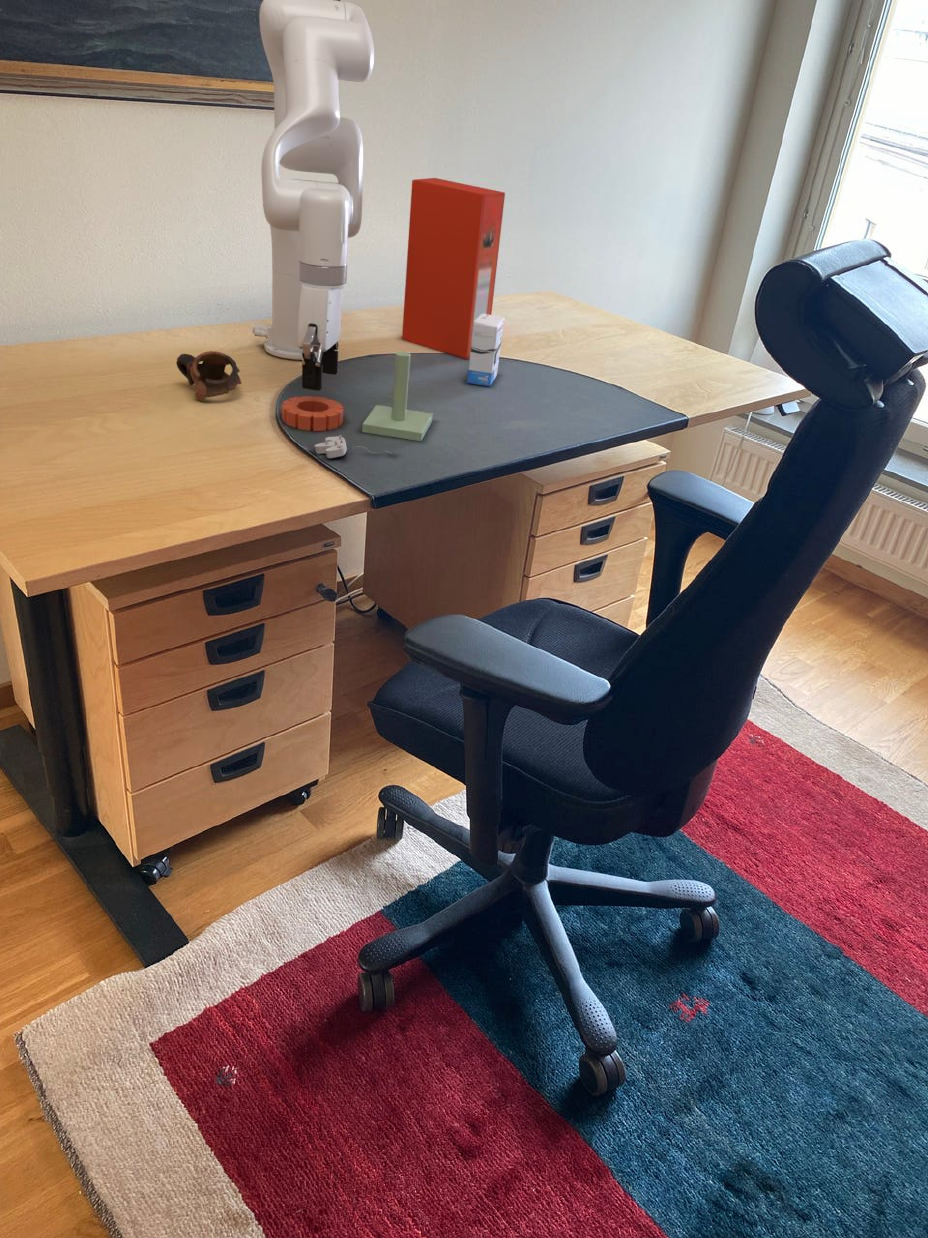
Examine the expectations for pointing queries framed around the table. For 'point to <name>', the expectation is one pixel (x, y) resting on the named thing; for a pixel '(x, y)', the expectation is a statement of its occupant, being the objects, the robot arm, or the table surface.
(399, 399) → the post
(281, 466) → the table surface
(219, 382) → the pottery mug
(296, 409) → the ring
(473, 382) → the ink box
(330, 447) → the white power plug
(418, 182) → the file binder
